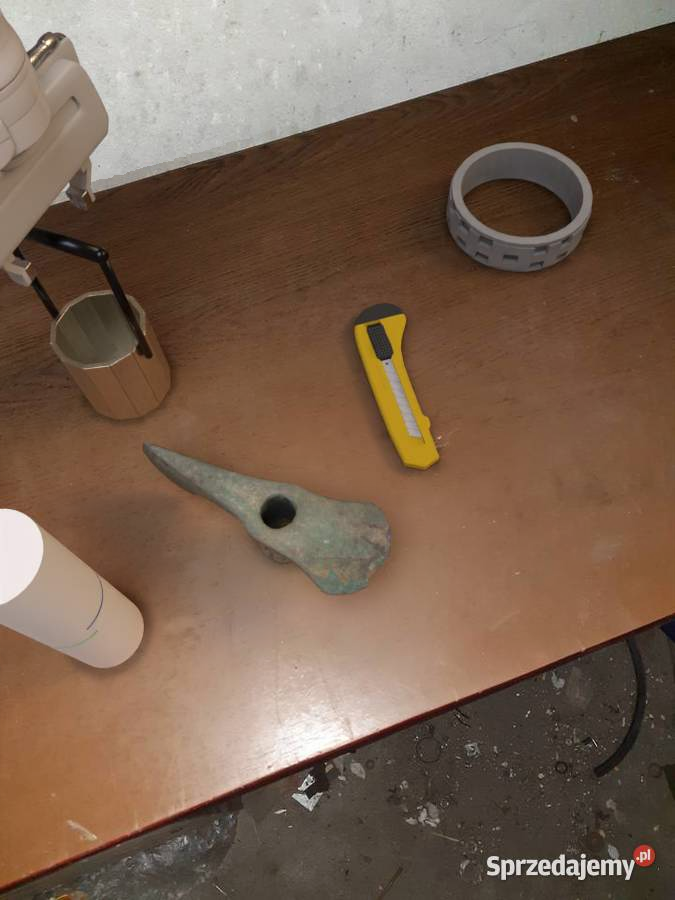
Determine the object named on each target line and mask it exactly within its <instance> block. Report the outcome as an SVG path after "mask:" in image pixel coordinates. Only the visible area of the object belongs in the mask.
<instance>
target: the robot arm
mask: <svg viewBox="0 0 675 900" xmlns="http://www.w3.org/2000/svg"><path fill="white" fill-rule="evenodd" d="M109 118H110V117H109V115H108V112H107V109H106V107H105V105H104V103H103V100H102V98H101V96H100V94H99V92H98V89H97V88H96V86H95V84H94V83H93V81H92V79H91V77H90V75H89V73H88V72H87V71H86V69H85V68H84V67H83V66H82V65H81V64H80V59H79V57H78V54H77V51H76V49H75V45H74V44H73V42H72V40H71V39H70V37H67V35H65V34H64V33H62V32H59V31H57V32H52V31H47V32H45V33H43V34H42V35H41V36H40V37H39V38H38V39H37V41H36V43H35V45H34V46H32V47H31V48H30V49H29V50H26V48H25V46H24V43H23V41H22V39H21V38H20V36H19V34H18V33H17V31H16V30H15V29H14V27H13V26H12V25H11V24H10V23H9V21H8V20H7V18H6V17H5V15H4V13H3V11H2V9H1V8H0V270H3V271H5V272H6V274H7V275H8V276H9V278H10V279H11V280H12V281H13V282H14V283H16V284H18V285H21V286H23V287H27V288H29V287H30V286H31V283H32V281H33V280H34V279H35V277H36V276H37V277H38V274H39V273H38V271H37V270H35V266H34V264H33V262H32V261H29V260H27V259H26V260H21V259H20V258H18V257H15V256H14V255H13V251H14V250H15V249H16V248H17V246H18V247H19V245H20V244H21V243H22V241H23V240H25V239H24V238H25V236H26V235H27V234H28V233H29V231H30V230H31V229H32V228H33V226H34V225H35V226H36V224H37V223H38V222H39V221H40V219H41V218H42V216H44V214H45V213H46V212H47V210H48V209H49V208H50V206H51V205H52V204H53V203H54V202H55V200H56V199H57V198H58V197H59V195H60V194H61V193H62V192H63V190H64V189H66V187H67V185H68V184H69V186H68V188H67V189H66V190H65V192H64V193H65V195H66V197H67V198H68V199H69V203H70V204H71V206H72V207H74V208H75V209H81V210H82V211H84V212H86V211H88V210H89V208H90V207H91V206H92V205H93V203H94V202H95V201H96V196H95V194H94V191H93V189H92V187H91V186H92V166H93V165H92V161H91V158H90V157H91V156H92V154H93V153H94V152H95V151H96V149H97V148H98V147H99V146H100V144H101V143H102V142H103V141H104V139H105V138H106V137H107V135H108V134H109V126H110V125H109V124H110V119H109Z"/></svg>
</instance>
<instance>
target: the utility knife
mask: <svg viewBox="0 0 675 900" xmlns="http://www.w3.org/2000/svg"><path fill="white" fill-rule="evenodd" d="M406 325H407V318H406V315H405V313H404V312H403V310H402V309H401V308H400V307H399V306H396V305H395V304H393V303H388V302H382V303H376V304H374V305H372V306H369V307H367V308H365V309H364V310H362V311H361V312H360V314H359V315H358V316H357V318H356V320H355V324H354V339H355V344H356V347H357V352H358V354H359V357H360V361H361V363H362V367H363V369H364V373H365V375H366V378H367V381H368V383H369V386H370V389H371V392H372V394H373V397H374V400H375V402H376V405H377V407H378V410H379V413H380V417H381V418H382V420H383V423H384V426H385V428H386V431H387V433H388V436H389V437H390V440H391V442H392V444H393V446H394V448H395V450H396V452H397V454H398V457H399V458H400V460H401V463H402V464H403V467H408V468H412V469H417V470H422V471H425V470H427V469H428V468H429V467H431V466H433V465H434V464H435V463H436V462H438V461H439V459H440V455H439V453H438V449H437V446H436V444H435V442H434V438H433V436H432V434H431V431H430V428H431V424H432V423H431V420H430V419H429V417H428V416H426V415H424V414H423V411H422V409H421V406H420V404H419V401H418V398H417V396H416V393H415V391H414V388H413V386H412V383H411V380H410V378H409V377H410V376H409V375H408V372H407V369H406V367H405V363H404V358H403V353H402V341H403V336H404V334H405V329H406Z"/></svg>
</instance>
